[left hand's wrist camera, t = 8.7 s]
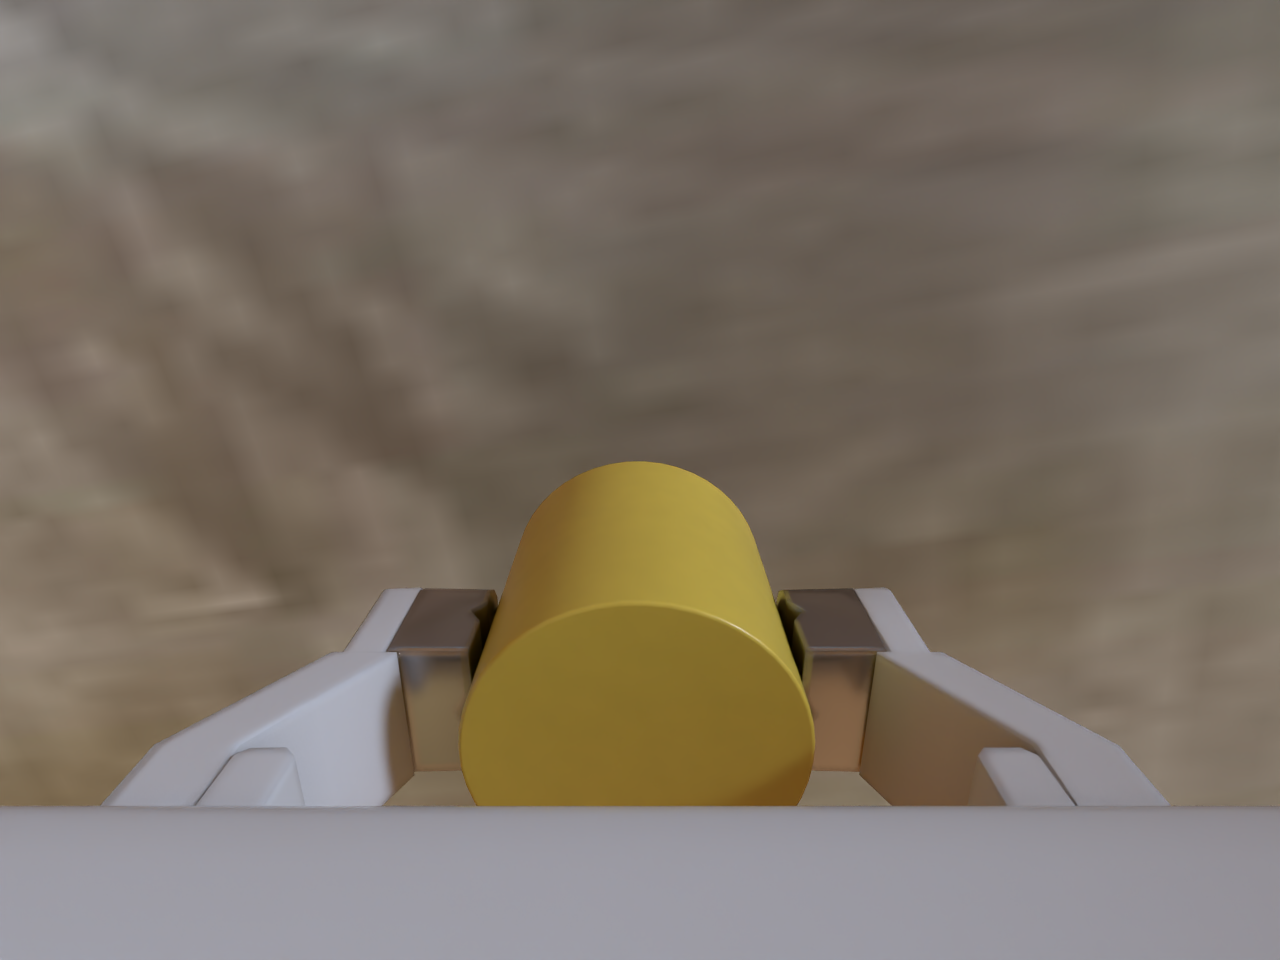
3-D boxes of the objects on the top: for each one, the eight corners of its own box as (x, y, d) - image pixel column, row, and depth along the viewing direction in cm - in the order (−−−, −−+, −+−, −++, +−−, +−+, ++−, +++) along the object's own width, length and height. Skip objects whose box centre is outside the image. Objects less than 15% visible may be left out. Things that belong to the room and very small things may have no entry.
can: (471, 526, 12) (385, 694, 8) (694, 418, 11) (724, 540, 7) (590, 705, 13) (567, 927, 9) (796, 618, 12) (868, 816, 8)
